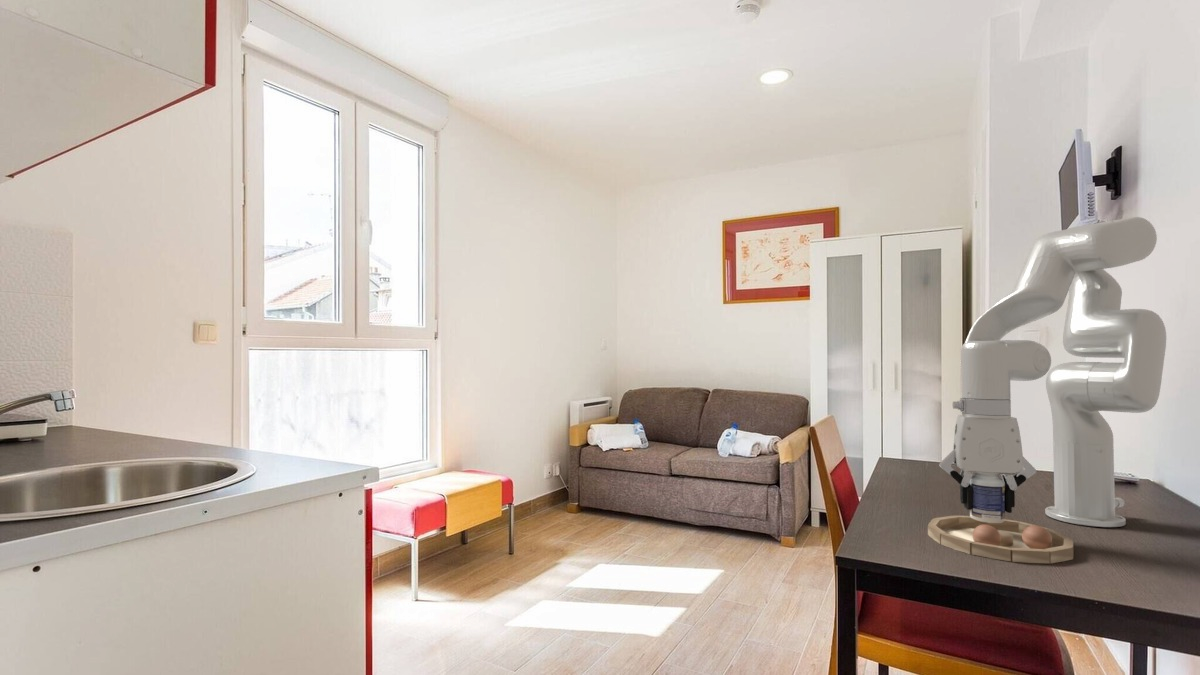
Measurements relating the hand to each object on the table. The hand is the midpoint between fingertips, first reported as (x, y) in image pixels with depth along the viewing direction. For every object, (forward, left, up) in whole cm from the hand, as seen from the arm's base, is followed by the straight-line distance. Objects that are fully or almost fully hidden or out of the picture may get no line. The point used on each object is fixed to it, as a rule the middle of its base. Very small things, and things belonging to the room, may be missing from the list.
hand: (987, 508), depth 108 cm
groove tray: (+3, +4, -5) cm, 8 cm away
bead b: (+2, +10, -4) cm, 11 cm away
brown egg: (+9, +6, -4) cm, 12 cm away
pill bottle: (0, 0, -2) cm, 2 cm away
